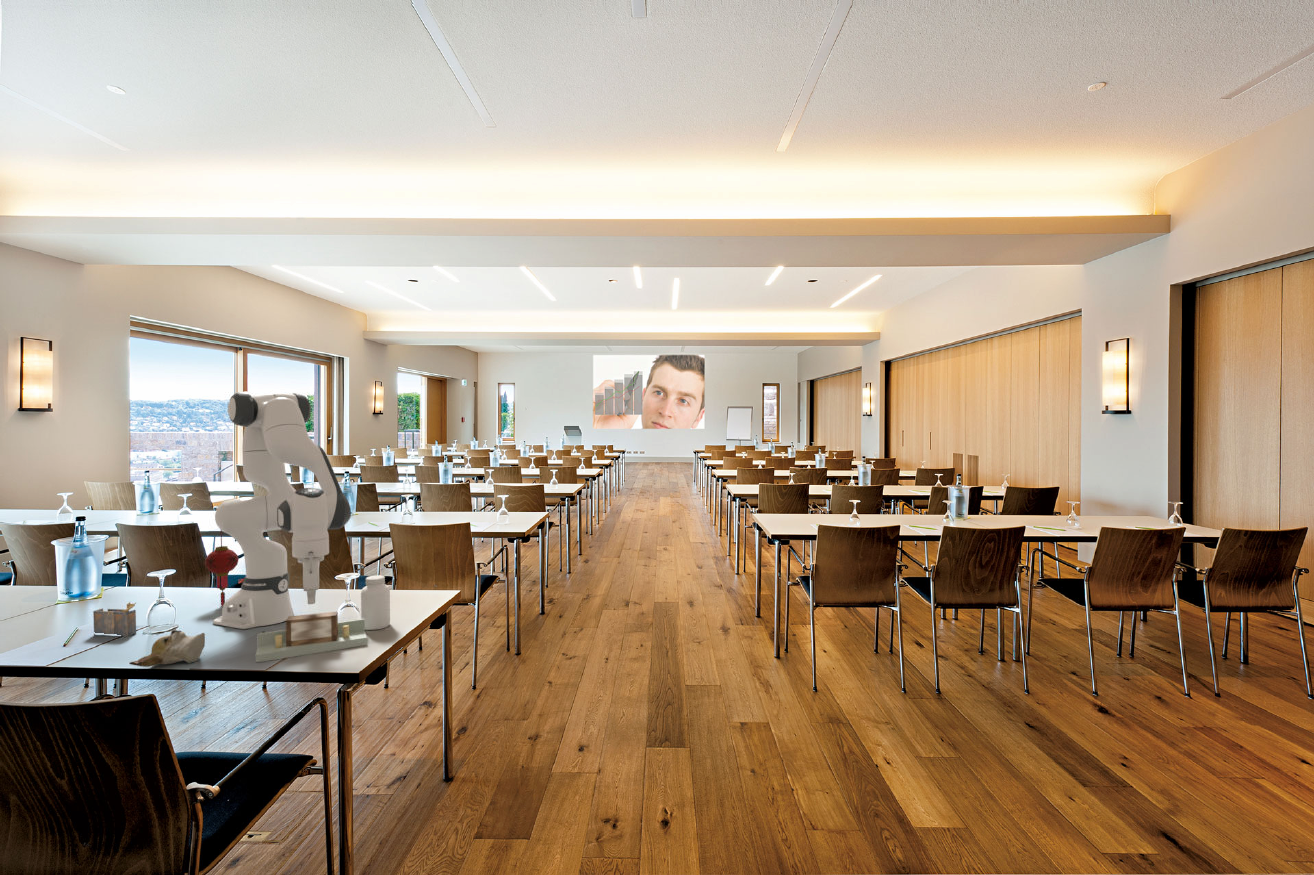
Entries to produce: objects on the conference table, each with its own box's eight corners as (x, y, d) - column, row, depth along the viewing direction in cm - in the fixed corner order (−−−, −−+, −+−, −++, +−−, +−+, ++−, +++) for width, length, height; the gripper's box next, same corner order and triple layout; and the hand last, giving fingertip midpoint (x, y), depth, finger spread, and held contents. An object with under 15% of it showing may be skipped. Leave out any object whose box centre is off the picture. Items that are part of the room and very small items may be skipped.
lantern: (198, 608, 211) (196, 519, 210) (223, 600, 220) (221, 515, 219) (222, 610, 209) (219, 520, 208) (246, 602, 218) (244, 515, 217)
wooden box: (286, 646, 168) (285, 620, 168) (289, 642, 172) (288, 616, 172) (336, 640, 172) (336, 615, 172) (338, 636, 176) (337, 611, 176)
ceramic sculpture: (192, 633, 159) (125, 641, 156) (195, 667, 159) (128, 675, 156) (214, 620, 169) (151, 628, 167) (216, 652, 170) (154, 660, 167)
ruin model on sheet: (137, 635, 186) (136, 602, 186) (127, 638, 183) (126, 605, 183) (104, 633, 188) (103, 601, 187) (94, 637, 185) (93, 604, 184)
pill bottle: (379, 631, 186) (378, 581, 186) (355, 629, 188) (354, 579, 187) (395, 623, 194) (394, 574, 193) (372, 621, 195) (371, 573, 195)
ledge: (255, 662, 162) (255, 642, 162) (258, 652, 169) (257, 633, 169) (366, 644, 175) (366, 626, 175) (364, 636, 182) (364, 618, 182)
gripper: (324, 555, 164) (325, 607, 165) (323, 540, 182) (323, 587, 182) (296, 558, 161) (297, 611, 162) (298, 542, 179) (298, 590, 179)
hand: (311, 598), depth 172 cm, fingers open, 8 cm apart
